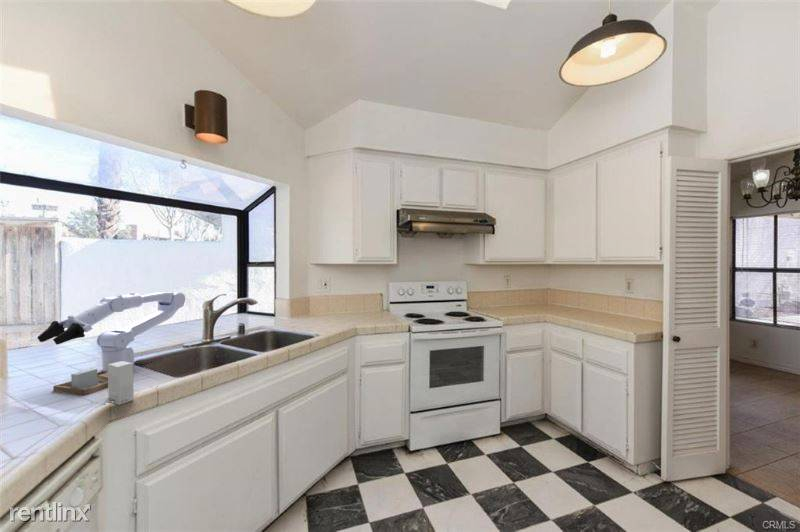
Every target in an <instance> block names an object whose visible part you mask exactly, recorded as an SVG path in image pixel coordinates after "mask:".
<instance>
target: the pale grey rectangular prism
mask: <svg viewBox="0 0 800 532" xmlns="http://www.w3.org/2000/svg"><path fill="white" fill-rule="evenodd" d="M97 373H98V368H94V367H93V368H87V369H84V370H81V371H77V372H74V373H71V376H70V378H71V379H70V381H71V382H72V386H71V387H73V388H81V389H87V388H90V387H93V386H96V385H99V383H98V382H99V381H98V378H97Z"/></svg>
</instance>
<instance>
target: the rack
mask: <svg viewBox="0 0 800 532" xmlns="http://www.w3.org/2000/svg"><path fill="white" fill-rule="evenodd" d="M107 372H108V371H103V370H102V371H97V379H98V375H101V374H104V373H107ZM106 388H108V382H101V383H98V385H95V386H92V387H89V388H86V389H81V388H73V387H72V382H71V380H69V381H66V382H65V381H64V382H63V383H59V384H56V385H53V387H52V390H53V392H60V393H66V394H72V395H73V394H74V395H80V396H86V395H89V394H92V393H96V392H97V391H101V390H103V389H106Z"/></svg>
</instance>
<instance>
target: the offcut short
mask: <svg viewBox="0 0 800 532" xmlns="http://www.w3.org/2000/svg"><path fill="white" fill-rule="evenodd" d="M97 382H101V383H105V382H108V372H107V373H104V374H101V375H98V378H97Z"/></svg>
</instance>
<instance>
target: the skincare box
mask: <svg viewBox="0 0 800 532" xmlns="http://www.w3.org/2000/svg"><path fill="white" fill-rule="evenodd" d="M107 389H108V390H107V393H108V394H107V396H108V398H109V399H111V400H110V401H113V402H114V403H113V404H115V405H118V406H119V405H123V404H126V403H128V402H132V401H134V399H135V398H134V394H135V393H134V366H133V363H129V362H125V361H120V362H116V363H112V364H108V387H107Z"/></svg>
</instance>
